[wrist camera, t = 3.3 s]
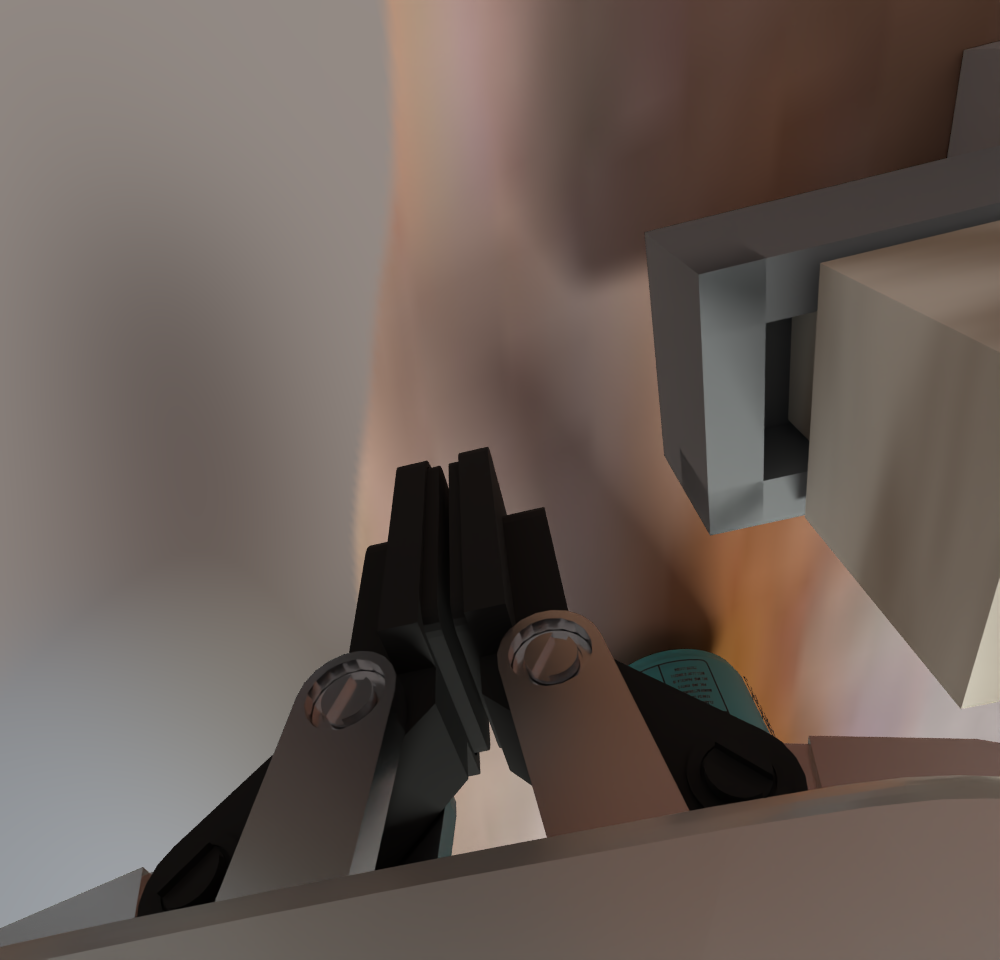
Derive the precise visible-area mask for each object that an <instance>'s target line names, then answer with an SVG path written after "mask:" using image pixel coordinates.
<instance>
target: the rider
mask: <svg viewBox="0 0 1000 960" xmlns="http://www.w3.org/2000/svg"><path fill="white" fill-rule="evenodd" d="M788 420H789V421H790V422H791V423H792V424H793V425H794V426H795V427H796V428H797V429H798V430H799V431H800V432H801V433H802V434H803V435H804V436H805V437H806V438H807V439H808V440H809V458H808V474H807V491H806V507H805V518H806V519H807V521H808V522H809V523H810V524H811V525H812V527H813V528H814V529H815V530H816V532H817V533H818V534H819V535H820V537H821V538H822V539H823V540H824V541H825V543H826V544H827V545H828V546H829V548H830V549H831V550H832V551H833V552H834V554H835V555H836V556H837V557H838V559H839V560H840V561H841V562H842V564H843V565H844V566H845V567H846V568H847V570H848V571H849V572H850V573H851V575H852V576H853V577H854V578H855V580H856V581H857V582H858V583H859V584H860V586H861V587H862V588H863V589H864V591H865V592H866V593H867V594H868V595H869V597H870V598H871V599H872V600H873V602H874V603H875V604H876V605H877V607H878V608H879V609H880V610H881V611H882V613H883V614H884V615H885V616H886V618H887V619H888V620H889V621H890V623H891V624H892V625H893V626H894V627H895V629H896V630H897V631H898V632H899V634H900V635H901V636H902V637H903V638H904V640H905V641H906V642H907V643H908V645H909V646H910V647H911V648H912V650H913V651H914V652H915V653H916V654H917V656H918V657H919V658H920V659H921V661H922V662H923V663H924V664H925V665H926V667H927V668H928V669H929V670H930V672H931V673H932V674H933V675H934V677H935V678H936V679H937V680H938V681H939V683H940V684H941V685H942V686H943V688H944V689H945V690H946V691H947V693H948V694H949V695H950V696H951V697H952V699H953V700H954V701H955V702H956V704H957V705H958V706H959V707H960V708H961V709H964V708H969V707H975V706H980V705H985V704H990V703H995V702H1000V220H999V221H995V222H991V223H986V224H982V225H978V226H974V227H970V228H965V229H961V230H957V231H953V232H949V233H944V234H940V235H936V236H932V237H928V238H923V239H919V240H915V241H911V242H907V243H902V244H898V245H894V246H890V247H886V248H881V249H877V250H873V251H869V252H865V253H860V254H856V255H852V256H848V257H844V258H839V259H835V260H831V261H827V262H823V263H820V276H819V292H818V309H817V311H816V312H812V313H807V314H803V315H799V316H795V317H792V329H791V356H790V382H789V408H788Z"/></svg>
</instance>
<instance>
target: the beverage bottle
mask: <svg viewBox="0 0 1000 960" xmlns="http://www.w3.org/2000/svg"><path fill="white" fill-rule="evenodd" d="M628 666H630V667H632V668H634V669H636V670H638V671H640V672H642V673H644V674H646V675H649V676H651V677H653V678H655V679H657V680H659V681H661V682H663V683H665V684H668V685H670V686H672V687H674V688H676V689H678V690H680V691H682V692H684V693H687V694H689V695H691V696H693V697H695V698H697V699H699V700H701V701H703V702H705V703H708V704H710V705H712V706H714V707H716V708H718V709H720V710H722V711H724V712H727V713H729V714H731V715H733V716H735V717H737V718H739V719H741V720H743V721H745V722H748V723H750V724H752V725H754V726H756V727H758V728H760V729H762V730H764V731H766V732H767V733H769V731H768V729H767V727H766V725H765V723H764V721H763V718H764V716H763V712H761V713H762V717H761V715H760V713H759V711H758V709H757V707H756V705H755V703H754V701H753V699H752V697H751V695H750V693H749V691H748V689H747V687H746V685H745V683H744V681H743V679H742V677H741V676H740V674H739V673H738V672H737V671H736V670H735V669H734V668H733V667H732V666H731V665H730V664H729V663H728V662H727V661H726V660H724V659H723V658H721V657H720V656H717V655H715V654H713V653H710V652H707V651H702V650H695V649H676V650H669V651H663V652H659V653H655V654H652V655H649V656H647V657H644V658H642V659H640V660H637V661H635V662H634V663H632V664H630V665H628ZM744 679H745V677H744ZM746 680H747V679H746ZM746 680H745V681H746ZM747 681H748V680H747ZM746 683H747V682H746ZM747 685H748V684H747ZM748 687H749V686H748ZM749 689H750V688H749ZM751 689H752V688H751ZM750 691H751V690H750ZM751 693H752V696H753V697H755V696H754V695H753V692H751ZM755 698H756V697H755ZM755 698H754V699H755ZM755 701H758V700H755ZM756 703H758V702H756ZM757 705H759V704H757ZM758 707H759V706H758ZM759 709H760V708H759ZM761 710H762V709H761ZM761 710H760V711H761ZM764 714H765V713H764ZM765 718H767V717H765ZM765 718H764V720H765ZM766 721H767V722H768V719H767V720H765V722H766ZM767 722H766V724H767ZM769 725H770V723H768V724H767V726H768V728H769V730H770V729H771V728H770V727H769ZM772 730H773V729H771V730H770V732H771V731H772ZM773 733H774V731H773ZM769 734H770V733H769ZM771 734H772V732H771ZM772 736H773V734H772ZM775 736H776V735H775V734H774V737H775Z"/></svg>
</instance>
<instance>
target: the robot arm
mask: <svg viewBox="0 0 1000 960" xmlns="http://www.w3.org/2000/svg"><path fill="white" fill-rule="evenodd" d="M458 460H459V462H455V463H450V464H449V488H448V485H447V482H446V479H445V476H444V473H443V470H442V468H441V466H437V467H433V468H431V466H430V464H429V462H428V461H424V462H419V463H415V464H410V465H406V466H402V467H398V468H397V470H396V478H395V486H394V494H393V503H392V511H391V519H390V527H389V535H388V542H385V543H380V544H376V545H371V546H369V547H368V548H367V551H366V554H365V560H364V566H363V572H362V578H361V584H360V590H359V596H358V602H357V608H356V614H355V621H354V627H353V633H352V639H351V645H350V651H349V653H347V654H343V655H341V656H339V657H337V658H334V659H332V660H330V661H328V662H327V663H325V664H324V665H323V666H321V667H320V668H319V669H317V670H316V671H315V672H314V673H313V674H312V675H311V676H310V677H309V678H308V679H307V681H306V682H305V683H304V684H303V686H302V688H301V689H300V691H299V693H298V695H297V697H296V699H295V701H294V704H293V706H292V709H291V712H290V714H289V717H288V719H287V722H286V724H285V726H284V729H283V732H282V734H281V737H280V739H279V742H278V744H277V747H276V749H275V752H274V754H273V755H272V756H271V757H270V758H269V759H268V760H267V761H266V762H264V763H263V764H262V765H261V766H260V767H259V768H258V769H257V770H256V771H255V772H254V773H253V774H252V775H251V776H249V777H248V778H247V779H246V780H245V781H244V782H243V783H242V784H241V785H240V786H239V787H238V788H237V789H236V790H234V791H233V792H232V793H231V795H229V796H228V797H227V798H226V799H225V800H224V801H223V802H222V803H220V804H219V805H218V806H217V807H216V808H215V809H214V810H213V811H212V812H211V813H210V814H209V815H208V816H207V817H206V818H204V819H203V820H202V821H201V822H200V823H199V824H198V825H197V826H196V827H195V828H194V829H193V830H191V832H189V833H188V834H187V835H186V836H185V837H184V838H183V839H182V840H181V841H180V842H179V843H178V844H177V845H175V846H174V847H173V848H172V850H171V851H170V852H169V853H168V854H167V855H166V856H165V857H164V858H163V860H162V861H161V862H160V863H159V864H158V865H157V867H156V869H155V870H154V872H151V873H149V872H148V871H147V870H146V869H144V868H143V867H142V868H140V869H137V870H135V871H132V872H130V873H128V874H126V875H123V876H121V877H118V878H116V879H114V880H112V881H109V882H107V883H105V884H102V885H100V886H98V887H95V888H93V889H91V890H88V891H86V892H84V893H81V894H79V895H77V896H74V897H72V898H70V899H68V900H65V901H63V902H60V903H58V904H56V905H53V906H51V907H49V908H47V909H44V910H42V911H39V912H37V913H35V914H33V915H30V916H28V917H26V918H23V919H21V920H18V921H16V922H14V923H12V924H9V925H7V926H5V927H2V928H0V960H1000V743H998V742H992V741H986V740H979V739H951V738H899V737H847V736H809V740H808V744H789V743H783V742H782V741H780V740H778V739H777V738H775V737H774V736H772V735H771V734H769V733H767V732H766V731H764V730H762V729H760V728H758V727H756V726H754V725H752V724H750V723H748V722H745V721H743V720H741V719H739V718H737V717H735V716H733V715H731V714H729V713H727V712H724V711H722V710H720V709H718V708H716V707H714V706H712V705H710V704H708V703H705V702H703V701H701V700H699V699H697V698H695V697H693V696H691V695H689V694H687V693H684V692H682V691H680V690H678V689H676V688H674V687H672V686H670V685H668V684H665V683H663V682H661V681H659V680H657V679H655V678H653V677H651V676H649V675H646V674H644V673H642V672H640V671H638V670H636V669H634V668H632V667H630V666H628V665H625V664H623V663H621V662H619V661H617V660H615V659H613V657H612V655H611V653H610V651H609V649H608V647H607V645H606V643H605V641H604V639H603V637H602V635H601V633H600V631H599V630H598V629H597V628H596V626H595V625H594V624H593V622H591V621H590V620H588V619H587V618H585V617H584V616H582V615H580V614H577V613H573V612H570V611H568V608H567V603H566V599H565V595H564V590H563V586H562V582H561V577H560V573H559V569H558V564H557V560H556V556H555V551H554V547H553V543H552V538H551V534H550V530H549V525H548V521H547V517H546V512H545V508H544V507H542V508H537V509H533V510H528V511H524V512H519V513H515V514H510V515H507V513H506V510H505V506H504V502H503V498H502V495H501V491H500V487H499V483H498V480H497V476H496V472H495V468H494V465H493V461H492V457H491V454H490V450H489V448H488V447H485V448H480V449H476V450H472V451H467V452H463V453H459V455H458ZM489 722H490V725H491V727H492V730H493V733H494V735H495V738H496V741H497V743H498V746H499V747H500V748H502V750H503V752H504V755H505V758H506V761H507V763H508V766H509V769H510V771H512V772H513V773H514V774H516V775H517V776H519V777H520V778H522V779H523V780H525V781H526V782H527V783H529V784H530V785H532V787H533V790H534V794H535V797H536V801H537V804H538V808H539V811H540V815H541V818H542V822H543V825H544V829H545V832H546V836H547V838H543V839H537V840H532V841H527V842H521V843H516V844H511V845H505V846H500V847H495V848H490V849H485V850H479V851H474V852H469V853H464V854H459V855H453V856H451V854H452V846H453V838H454V830H455V823H456V801H455V798H454V795H455V794H456V793H457V792H458V791H459V789H460V788H461V787H462V786H463V785H464V783H465V782H466V781H467V780H468V776H473V775H478V774H480V756H479V752H482V751H487V750H490V732H489Z"/></svg>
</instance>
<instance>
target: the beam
mask: <svg viewBox="0 0 1000 960" xmlns="http://www.w3.org/2000/svg"><path fill="white" fill-rule="evenodd" d="M999 220H1000V41H998V42H994V43H990V44H986V45H982V46H978V47H974V48H970V49H966V50H964V53H963V59H962V66H961V72H960V79H959V85H958V91H957V98H956V104H955V111H954V117H953V124H952V130H951V136H950V143H949V149H948V156H947V158H946V159H941V160H937V161H933V162H929V163H925V164H921V165H917V166H913V167H909V168H905V169H901V170H897V171H892V172H888V173H884V174H880V175H876V176H872V177H868V178H864V179H860V180H856V181H852V182H848V183H843V184H839V185H835V186H831V187H827V188H823V189H819V190H815V191H811V192H807V193H803V194H799V195H794V196H790V197H786V198H782V199H778V200H774V201H770V202H766V203H762V204H758V205H754V206H750V207H746V208H741V209H737V210H733V211H729V212H725V213H721V214H717V215H713V216H709V217H705V218H701V219H697V220H692V221H688V222H684V223H680V224H676V225H672V226H668V227H664V228H660V229H656V230H652V231H648V232H645V244H646V255H647V266H648V277H649V289H650V300H651V311H652V323H653V334H654V345H655V357H656V368H657V379H658V391H659V402H660V413H661V425H662V436H663V447H664V456H665V458H666V459H667V461H668V463H669V465H670V466H671V468H672V470H673V472H674V473H675V475H676V477H677V479H678V480H679V482H680V484H681V486H682V487H683V489H684V491H685V492H686V494H687V496H688V498H689V499H690V501H691V503H692V505H693V506H694V508H695V510H696V512H697V513H698V515H699V517H700V519H701V520H702V522H703V524H704V525H705V527H706V529H707V531H708V532H709V534H710V535H714V534H719V533H724V532H728V531H733V530H738V529H742V528H747V527H751V526H756V525H761V524H765V523H770V522H775V521H779V520H784V519H789V518H793V517H798V516H803V515H805V507H806V491H807V474H808V458H809V440H808V439H807V438H806V437H805V436H804V435H803V434H802V433H801V432H800V431H799V430H798V429H797V428H796V427H795V426H794V425H793V424H792V423H791V422H790V421H789V420H788V408H789V382H790V356H791V329H792V317H795V316H799V315H803V314H807V313H812V312H816V311H817V309H818V292H819V276H820V263H823V262H827V261H831V260H835V259H839V258H844V257H848V256H852V255H856V254H860V253H865V252H869V251H873V250H877V249H881V248H886V247H890V246H894V245H898V244H902V243H907V242H911V241H915V240H919V239H923V238H928V237H932V236H936V235H940V234H944V233H949V232H953V231H957V230H961V229H965V228H970V227H974V226H978V225H982V224H986V223H991V222H995V221H999Z"/></svg>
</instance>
